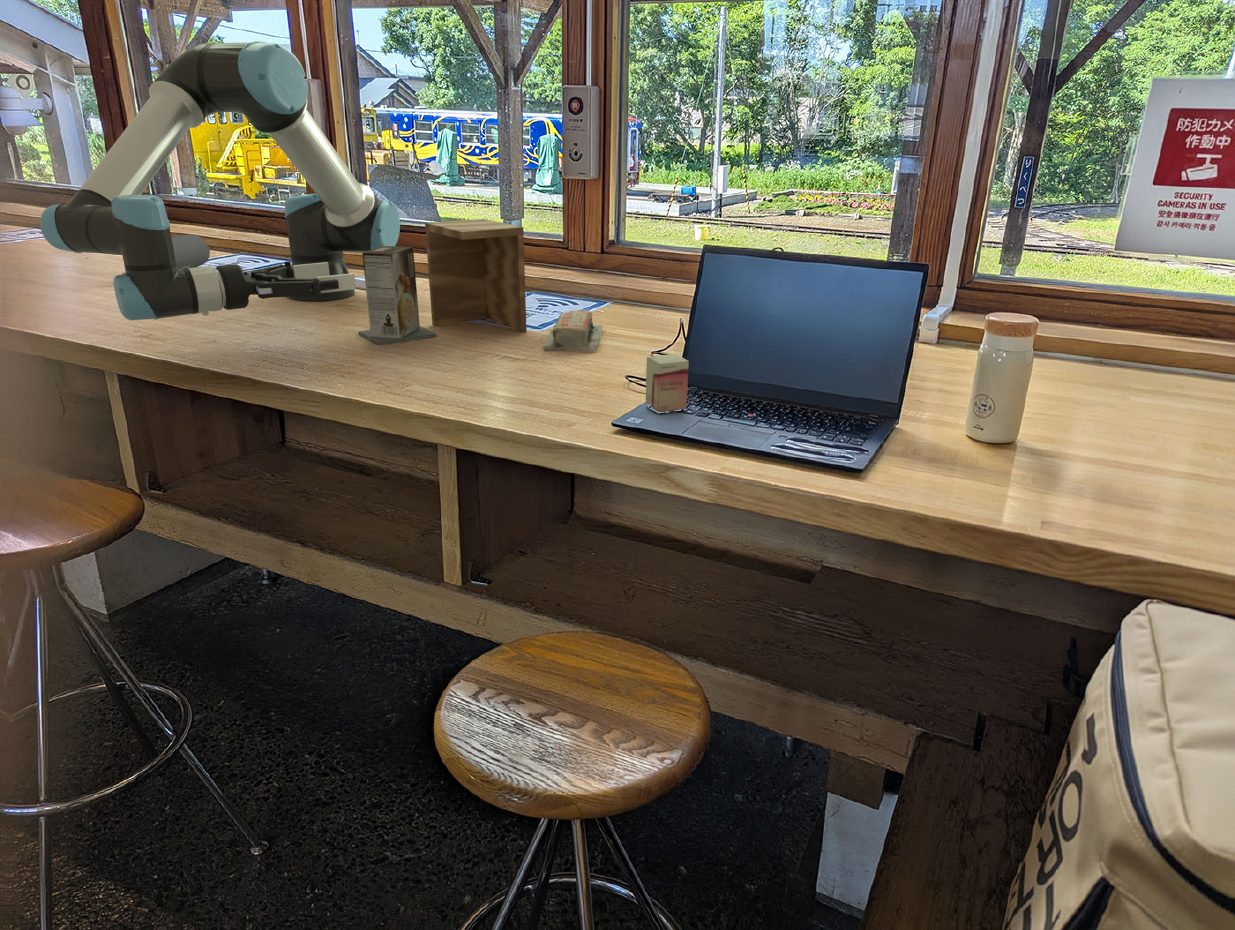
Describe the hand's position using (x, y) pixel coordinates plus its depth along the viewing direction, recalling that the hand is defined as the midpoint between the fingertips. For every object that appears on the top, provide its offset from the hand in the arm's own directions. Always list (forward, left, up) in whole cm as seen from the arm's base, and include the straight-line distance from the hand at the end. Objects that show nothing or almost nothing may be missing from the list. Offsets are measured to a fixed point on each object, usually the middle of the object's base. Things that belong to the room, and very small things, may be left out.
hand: (341, 275), depth 159 cm
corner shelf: (+3, +26, -13) cm, 29 cm away
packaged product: (+22, +37, -13) cm, 45 cm away
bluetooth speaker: (-91, -13, -13) cm, 93 cm away
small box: (+65, +25, -13) cm, 71 cm away
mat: (0, +10, -13) cm, 16 cm away
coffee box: (0, +10, -12) cm, 16 cm away
